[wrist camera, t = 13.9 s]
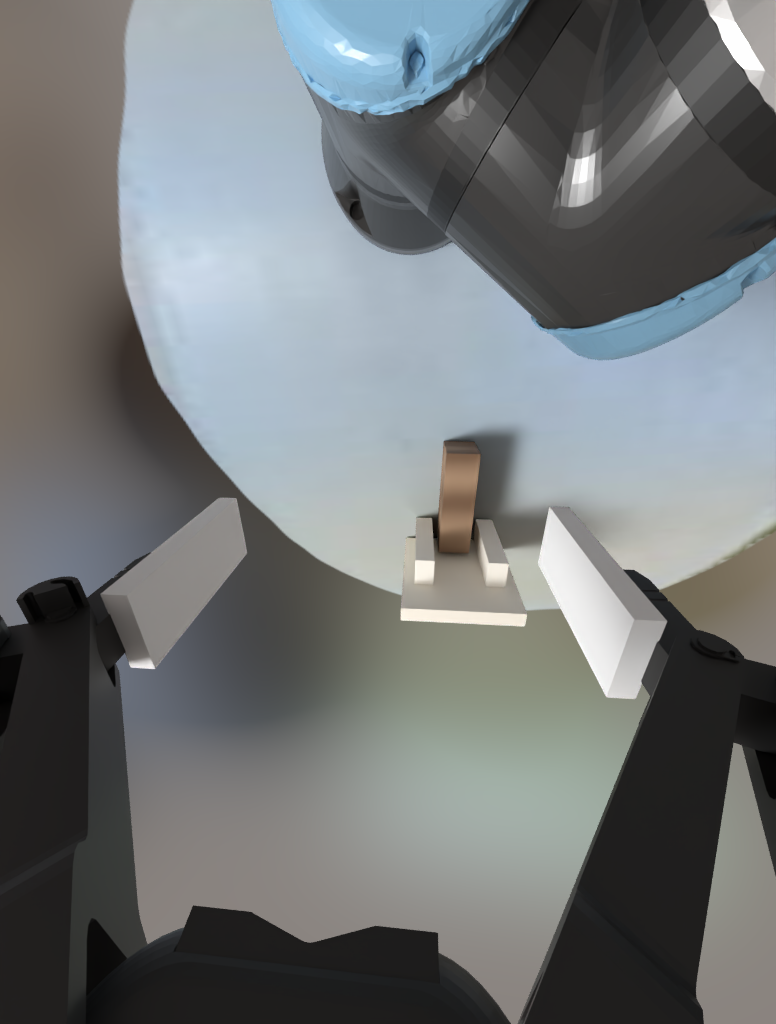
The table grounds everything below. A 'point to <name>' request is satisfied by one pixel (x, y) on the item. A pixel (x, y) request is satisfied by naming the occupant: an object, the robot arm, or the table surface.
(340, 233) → the table surface
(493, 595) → the white twin-rail base
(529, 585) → the table surface
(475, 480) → the brown rectangular block
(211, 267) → the table surface
